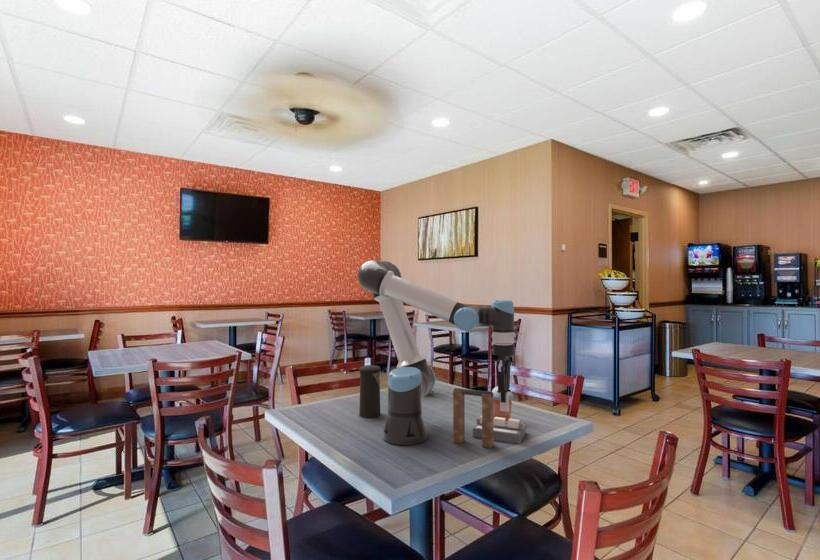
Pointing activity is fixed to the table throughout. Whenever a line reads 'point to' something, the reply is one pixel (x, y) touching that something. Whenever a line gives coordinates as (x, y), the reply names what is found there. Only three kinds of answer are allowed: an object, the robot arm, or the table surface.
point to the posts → (460, 419)
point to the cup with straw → (497, 405)
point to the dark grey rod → (473, 392)
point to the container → (369, 391)
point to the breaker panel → (503, 432)
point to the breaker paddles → (504, 422)
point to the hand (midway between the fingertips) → (504, 410)
